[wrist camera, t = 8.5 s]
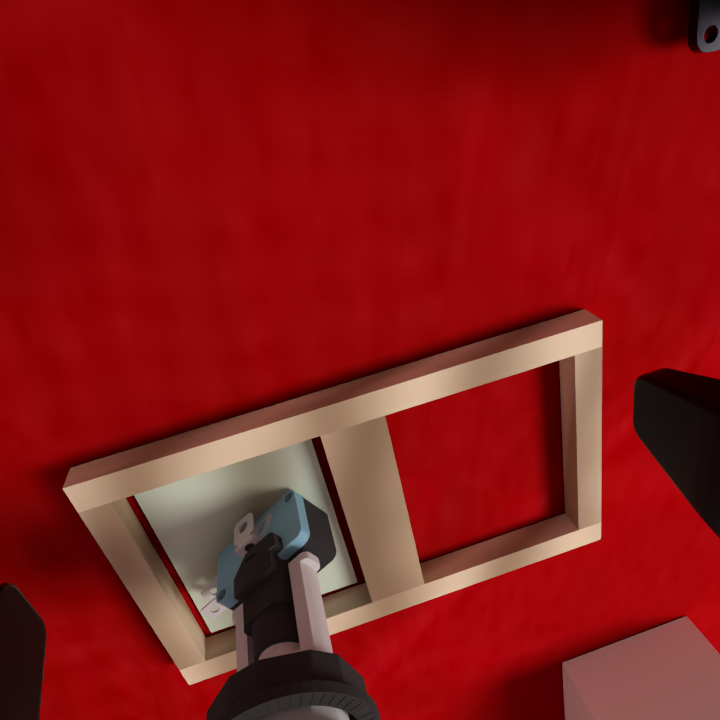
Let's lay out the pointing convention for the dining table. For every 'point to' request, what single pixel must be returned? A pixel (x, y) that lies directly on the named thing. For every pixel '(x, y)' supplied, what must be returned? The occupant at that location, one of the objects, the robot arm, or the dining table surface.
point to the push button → (282, 622)
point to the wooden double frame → (354, 485)
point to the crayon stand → (646, 677)
